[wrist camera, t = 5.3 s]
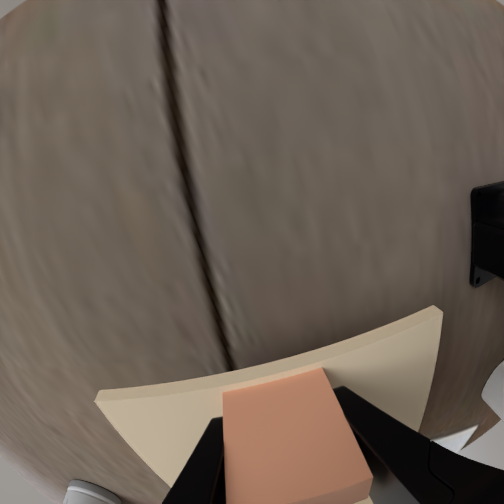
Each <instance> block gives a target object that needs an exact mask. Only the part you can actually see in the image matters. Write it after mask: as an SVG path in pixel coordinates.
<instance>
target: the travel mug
mask: <svg viewBox="0 0 504 504" xmlns="http://www.w3.org/2000/svg"><path fill="white" fill-rule="evenodd" d="M63 504H121V501H120V499H119V498H118V497H117V496H116V495H114V494H113V493H111V492H110V491H108V490H106V489H104V488H102V487H100V486H97V485H95V484H92V483H89V482H86V481H82V480H72V481H70V484H69V487H68V491H67V493H66V496H65V499H64V502H63Z"/></svg>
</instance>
